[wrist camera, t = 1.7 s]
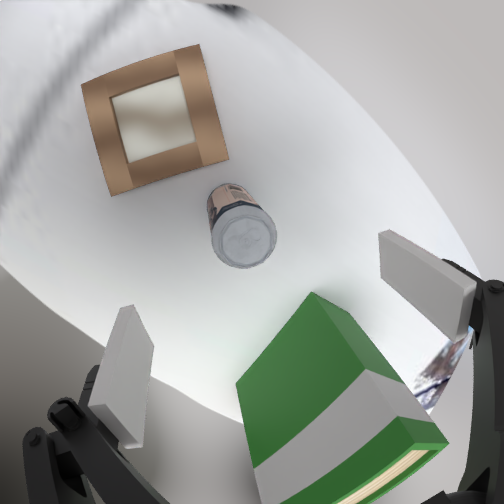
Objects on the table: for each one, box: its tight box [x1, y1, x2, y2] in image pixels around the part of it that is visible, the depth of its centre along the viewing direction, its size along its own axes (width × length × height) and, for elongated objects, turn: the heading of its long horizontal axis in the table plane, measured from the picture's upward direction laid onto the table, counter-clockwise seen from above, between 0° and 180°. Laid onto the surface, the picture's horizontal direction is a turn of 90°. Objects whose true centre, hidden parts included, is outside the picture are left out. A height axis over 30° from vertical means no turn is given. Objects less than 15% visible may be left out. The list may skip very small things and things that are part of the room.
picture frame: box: [81, 44, 229, 197], centre depth 26 cm, size 12×12×3 cm
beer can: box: [207, 184, 277, 269], centre depth 27 cm, size 5×5×12 cm
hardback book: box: [236, 292, 449, 504], centre depth 30 cm, size 18×7×24 cm, turn 145°
